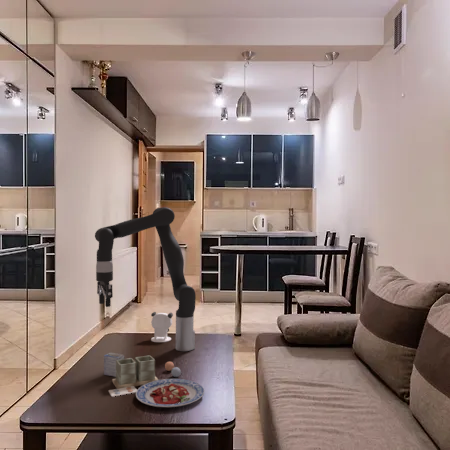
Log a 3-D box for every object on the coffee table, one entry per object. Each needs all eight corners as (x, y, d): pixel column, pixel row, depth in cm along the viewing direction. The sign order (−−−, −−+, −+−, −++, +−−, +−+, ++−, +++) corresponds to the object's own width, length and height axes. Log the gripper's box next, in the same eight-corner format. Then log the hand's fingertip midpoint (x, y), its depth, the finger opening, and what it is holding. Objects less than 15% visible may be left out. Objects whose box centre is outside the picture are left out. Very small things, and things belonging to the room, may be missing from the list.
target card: (133, 386, 167) (133, 385, 167) (137, 392, 162) (137, 391, 162) (108, 391, 163) (108, 390, 163) (111, 397, 157) (111, 395, 157)
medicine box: (124, 374, 181) (124, 354, 181) (118, 378, 177) (118, 357, 177) (110, 371, 184) (110, 352, 184) (103, 375, 180) (103, 355, 180)
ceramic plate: (124, 393, 161) (124, 386, 161) (182, 379, 177) (182, 372, 176) (155, 419, 140) (155, 410, 140) (217, 400, 156) (217, 392, 156)
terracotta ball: (172, 368, 188) (172, 359, 188) (175, 371, 185) (175, 362, 185) (163, 370, 187) (163, 361, 187) (166, 372, 183) (166, 363, 183)
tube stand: (152, 374, 180) (152, 354, 180) (158, 382, 172) (158, 360, 172) (112, 381, 173) (112, 359, 173) (117, 389, 165) (117, 366, 165)
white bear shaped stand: (174, 337, 240) (174, 311, 240) (169, 342, 229) (169, 315, 229) (153, 336, 241) (154, 310, 241) (148, 341, 230) (148, 314, 230)
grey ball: (178, 374, 181) (178, 365, 181) (181, 377, 178) (182, 368, 178) (169, 375, 179) (169, 366, 179) (173, 379, 176) (173, 369, 176)
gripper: (117, 271, 192) (118, 306, 192) (107, 268, 204) (107, 301, 204) (101, 272, 188) (101, 308, 188) (91, 269, 199) (92, 303, 200)
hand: (104, 305), depth 196 cm, fingers open, 8 cm apart
